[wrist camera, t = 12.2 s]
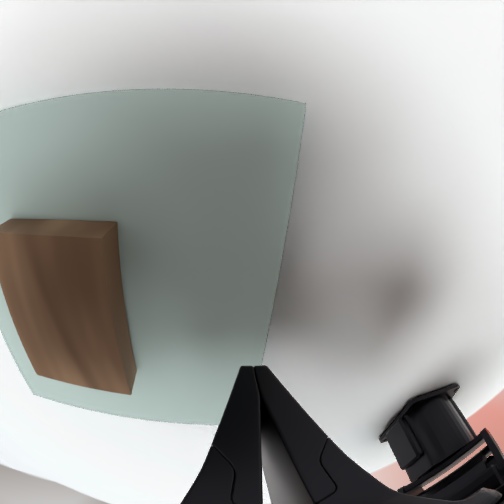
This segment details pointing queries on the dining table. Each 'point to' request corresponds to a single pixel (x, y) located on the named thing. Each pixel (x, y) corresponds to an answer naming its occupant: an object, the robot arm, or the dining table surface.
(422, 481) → the robot arm
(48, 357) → the brown wooden block
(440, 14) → the dining table surface
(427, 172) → the dining table surface
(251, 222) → the mat
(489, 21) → the dining table surface
